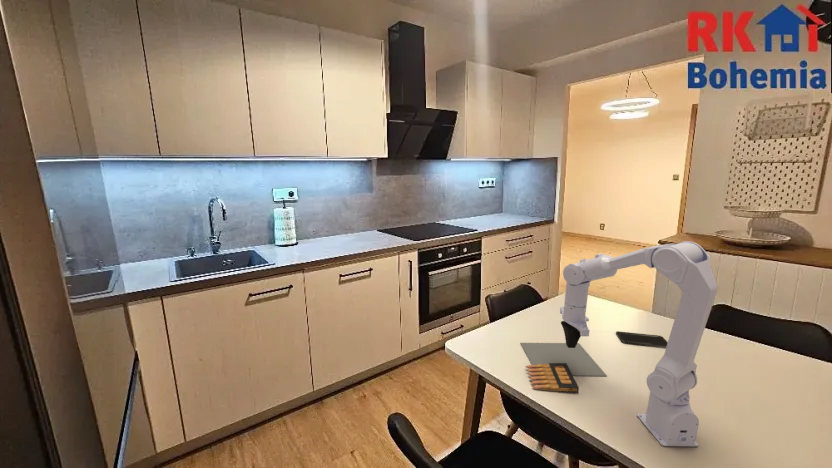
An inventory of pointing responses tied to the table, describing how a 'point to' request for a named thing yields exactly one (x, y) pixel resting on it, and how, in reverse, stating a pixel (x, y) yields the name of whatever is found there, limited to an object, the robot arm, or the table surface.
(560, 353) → the mat
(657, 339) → the phone
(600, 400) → the table surface
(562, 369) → the ammunition clip
